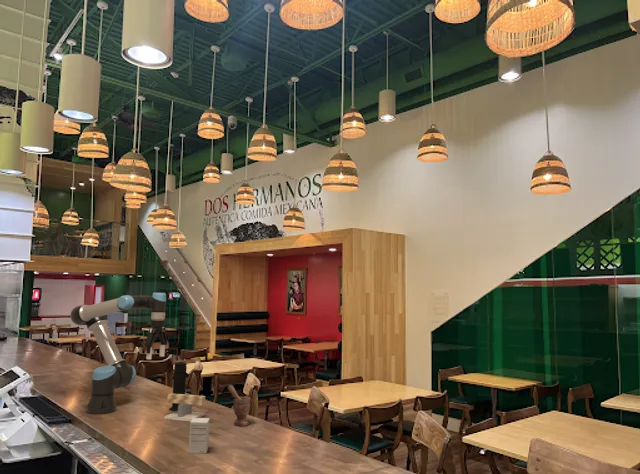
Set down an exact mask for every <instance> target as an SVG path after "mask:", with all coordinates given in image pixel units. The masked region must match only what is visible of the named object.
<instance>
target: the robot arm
mask: <svg viewBox="0 0 640 474" xmlns="http://www.w3.org/2000/svg"><path fill="white" fill-rule="evenodd" d="M166 305H167V294H166V292H152V295H142V294H141V295H128V294H126V295H125V294H124V295H122V296H120V297H117V298H114V299H110V300H106V301H101V302H97V303H94V304H81V305H78V306H75V307H74V308H72V310H71V312H70V314H69V315H70V320H71V321H72V322H73V324H75V325H76V326H77V325H78V326H86V329H88V331H89V332H92V334H93V337H94V338H95V341H96V343H97V345H98V347H99V349H100V351H101V354H102V356H103V358H104V360H105V363H106V364H107V365H104V366H99V367H96V368H94V370H93V372H92V376H91V378H92V379H91V394H90V398H89V401H88V404H87V406H86V413H87V412H88V414H93V415H94V414H95V415H97V414H98V415H100V414H109V413H113V412H115V411H117V402H116V399H115V389H121V388H126V387H128V386H131V385H132V384H133V383H134V381H135V379H136V376H137V371H136V368H135V367H134V365H131V364H128V361H127V360H126V359H124V358H123V357H122V355H121V352H120V350H119V348H118V346H117V345H116V342H115V340H114V337H113V336H112V334H111V332H110V328H109V327H108V323H109V321H108V320H109V316H110V315H112V314H115V313H120V312H123V311H127V310H140V309H141V310H142V309H143V310H151V314H150V319H151V321H150V327H151V328H149V329H148V334H147V337H146V339H145V343H144V347H145V348H146V356H145V357H146V360H152V356H153V347H152V346H153V344H154V342H155V340H156V338H158V340H159V342H160V344H159V357H165V356H166V355H165V353H166V350H165V349H166V345H168V337H167V333H166V327H165V326H166V325H165V324H166V323H165V322H166V321H165V319H166Z"/></svg>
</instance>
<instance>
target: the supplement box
mask: <svg viewBox="0 0 640 474" xmlns="http://www.w3.org/2000/svg"><path fill="white" fill-rule="evenodd" d="M210 421H211V420H210V417H200V418H193V419H192V420H191V421H189V436H188V437H189V439H188V441H189V442H188V454H192V455H193V454H197V455H198V454H201V455H202V454H207V452H208V450H209V438H210Z"/></svg>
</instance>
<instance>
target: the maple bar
mask: <svg viewBox="0 0 640 474" xmlns="http://www.w3.org/2000/svg"><path fill="white" fill-rule="evenodd" d="M166 400H167V401H166V402H167V403H168V404H169V403H171V404H172V403H180V404H192V406H194V405H195V406H203V405H206V396H205V395H198V394H197V395H196V394H186V393H185V394H173V392H171V393H168V394H167V399H166Z"/></svg>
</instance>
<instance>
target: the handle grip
mask: <svg viewBox="0 0 640 474" xmlns="http://www.w3.org/2000/svg"><path fill="white" fill-rule="evenodd" d="M187 364H188V363H187V362H183V361H177V362H174V367H173V371H174V372H173V382H172V383H173V385H172V387H173V388H172V393H173V394H186V385H187V384H186V383H187V368H188V367H187ZM171 404H172V406H171V407H169V409H168V411H170V410H171V412H176V411H178V405H180V403H171Z"/></svg>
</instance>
